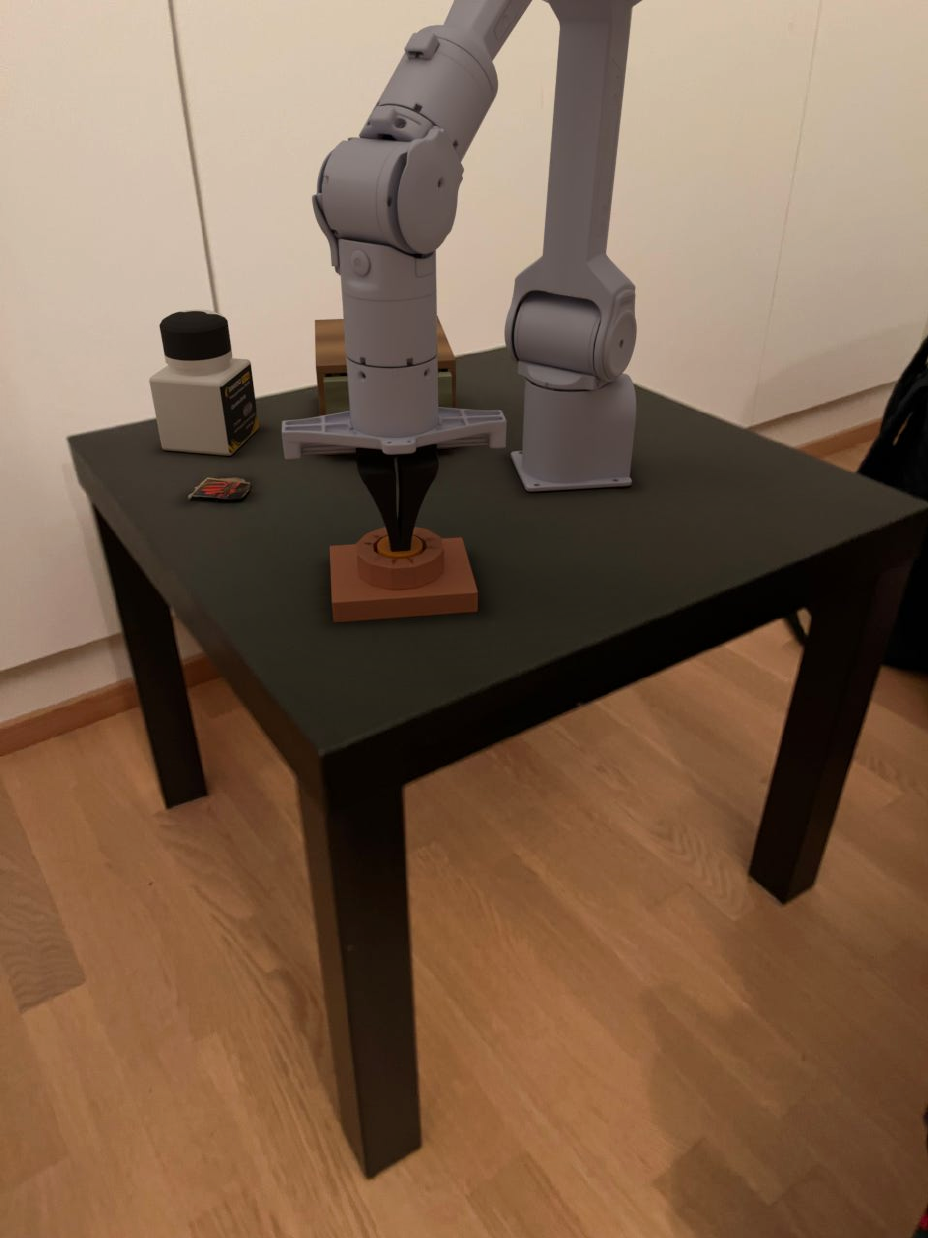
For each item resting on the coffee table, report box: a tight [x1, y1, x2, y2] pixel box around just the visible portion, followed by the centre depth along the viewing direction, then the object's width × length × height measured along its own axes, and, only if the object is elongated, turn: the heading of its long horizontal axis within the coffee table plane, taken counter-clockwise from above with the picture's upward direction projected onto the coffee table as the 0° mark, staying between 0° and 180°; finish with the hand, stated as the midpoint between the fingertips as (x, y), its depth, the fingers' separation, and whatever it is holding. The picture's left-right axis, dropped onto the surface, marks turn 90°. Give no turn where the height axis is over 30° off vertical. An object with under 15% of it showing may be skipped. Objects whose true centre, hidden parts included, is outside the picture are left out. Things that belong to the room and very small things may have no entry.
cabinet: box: [314, 315, 457, 456], centre depth 92 cm, size 15×13×9 cm
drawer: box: [323, 369, 452, 453], centre depth 88 cm, size 18×11×7 cm, turn 8°
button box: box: [329, 526, 479, 623], centre depth 67 cm, size 10×8×4 cm
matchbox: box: [187, 476, 251, 502], centre depth 81 cm, size 5×5×1 cm
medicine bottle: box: [148, 309, 260, 457], centre depth 87 cm, size 7×7×12 cm
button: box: [377, 536, 423, 559], centre depth 66 cm, size 3×3×2 cm
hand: (399, 544), depth 66 cm, fingers closed, pressing on button
